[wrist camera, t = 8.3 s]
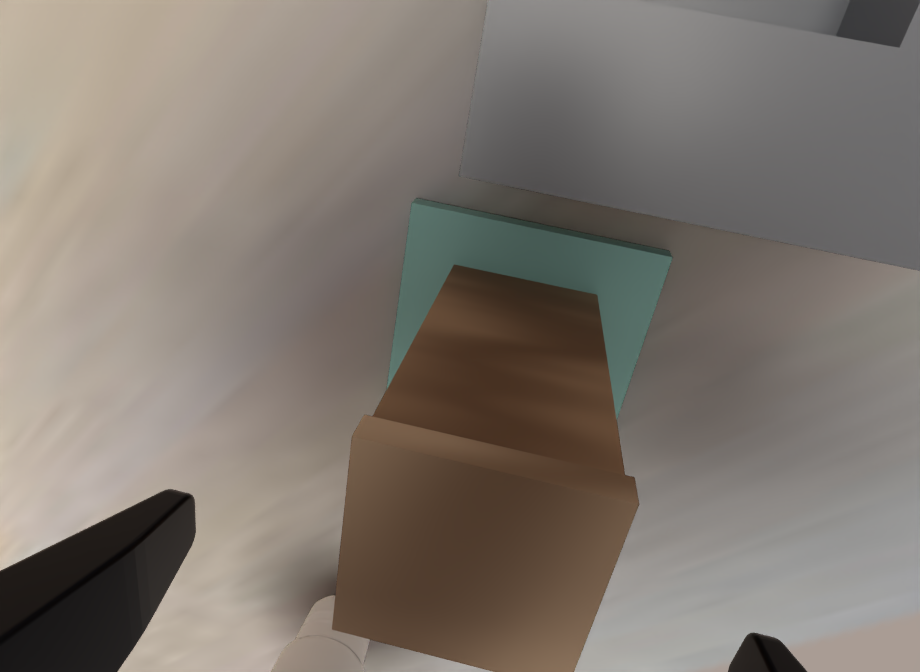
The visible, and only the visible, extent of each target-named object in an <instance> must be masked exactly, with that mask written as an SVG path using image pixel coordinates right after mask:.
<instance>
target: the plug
mask: <svg viewBox="0 0 920 672" xmlns="http://www.w3.org/2000/svg"><path fill="white" fill-rule="evenodd" d="M638 506H639V500H638V495H637V489H636V483H635V478H634V477H631V476H626V475H625V472H624V465H623V459H622V452H621V446H620V439H619V433H618V426H617V420H616V413H615V407H614V400H613V394H612V387H611V381H610V374H609V368H608V361H607V355H606V348H605V342H604V335H603V329H602V322H601V316H600V309H599V303H598V296H597V295H596V294H592V293H587V292H582V291H578V290H573V289H568V288H563V287H559V286H554V285H549V284H545V283H540V282H535V281H530V280H526V279H521V278H516V277H512V276H507V275H502V274H497V273H493V272H488V271H483V270H479V269H474V268H469V267H464V266H460V265H455V264H454V265H453V267H452V269H451V271H450V273H449V275H448V276H447V278H446V280H445V282H444V284H443V286H442V288H441V290H440V291H439V293H438V295H437V297H436V299H435V301H434V303H433V304H432V306H431V308H430V310H429V312H428V314H427V316H426V318H425V319H424V321H423V323H422V325H421V327H420V329H419V331H418V332H417V334H416V336H415V338H414V340H413V342H412V344H411V346H410V347H409V349H408V351H407V353H406V355H405V357H404V359H403V360H402V362H401V364H400V366H399V368H398V370H397V372H396V374H395V375H394V377H393V379H392V381H391V383H390V385H389V387H388V388H387V390H386V392H385V394H384V396H383V398H382V400H381V402H380V403H379V405H378V407H377V409H376V411H375V413H374V415H373V416H368V415H364V416H363V418H362V419H361V421H360V423H359V425H358V427H357V428H356V430H355V432H354V434H353V436H352V440H351V450H350V460H349V469H348V479H347V488H346V498H345V507H344V517H343V527H342V536H341V546H340V555H339V565H338V574H337V584H336V593H335V603H334V613H333V622H332V630H335V631H339V632H343V633H347V634H351V635H355V636H358V637H362V638H366V639H370V640H374V641H378V642H382V643H385V644H389V645H393V646H397V647H401V648H405V649H409V650H412V651H416V652H420V653H424V654H428V655H432V656H436V657H439V658H443V659H447V660H451V661H455V662H459V663H463V664H466V665H470V666H474V667H478V668H482V669H486V670H490V671H493V672H574V670H575V668H576V665H577V663H578V660H579V657H580V655H581V652H582V650H583V647H584V645H585V642H586V639H587V637H588V634H589V632H590V629H591V627H592V624H593V621H594V619H595V616H596V614H597V611H598V609H599V606H600V603H601V601H602V598H603V596H604V593H605V591H606V588H607V586H608V583H609V580H610V578H611V575H612V573H613V570H614V568H615V565H616V562H617V560H618V557H619V555H620V552H621V550H622V547H623V544H624V542H625V539H626V537H627V534H628V532H629V529H630V526H631V524H632V521H633V519H634V516H635V514H636V511H637V508H638Z"/></svg>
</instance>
